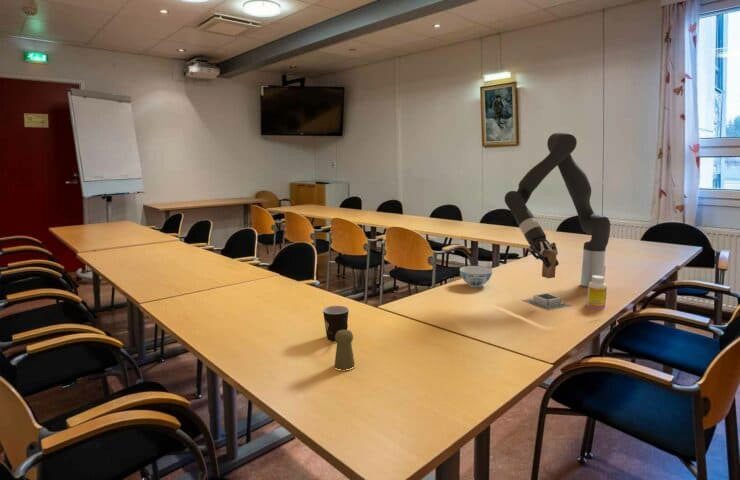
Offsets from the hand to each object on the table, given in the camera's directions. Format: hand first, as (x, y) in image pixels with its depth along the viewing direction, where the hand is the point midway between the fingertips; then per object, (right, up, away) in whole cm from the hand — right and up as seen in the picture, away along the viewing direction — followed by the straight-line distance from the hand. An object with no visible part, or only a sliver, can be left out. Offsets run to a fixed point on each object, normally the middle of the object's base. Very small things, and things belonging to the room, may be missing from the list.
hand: (553, 265), depth 184 cm
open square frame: (-1, -15, +5) cm, 16 cm away
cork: (-80, -27, -48) cm, 98 cm away
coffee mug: (-84, -24, -28) cm, 92 cm away
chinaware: (-23, -11, +34) cm, 43 cm away
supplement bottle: (+18, -17, +1) cm, 25 cm away
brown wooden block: (-1, -5, +3) cm, 5 cm away
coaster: (-1, -16, +5) cm, 17 cm away
